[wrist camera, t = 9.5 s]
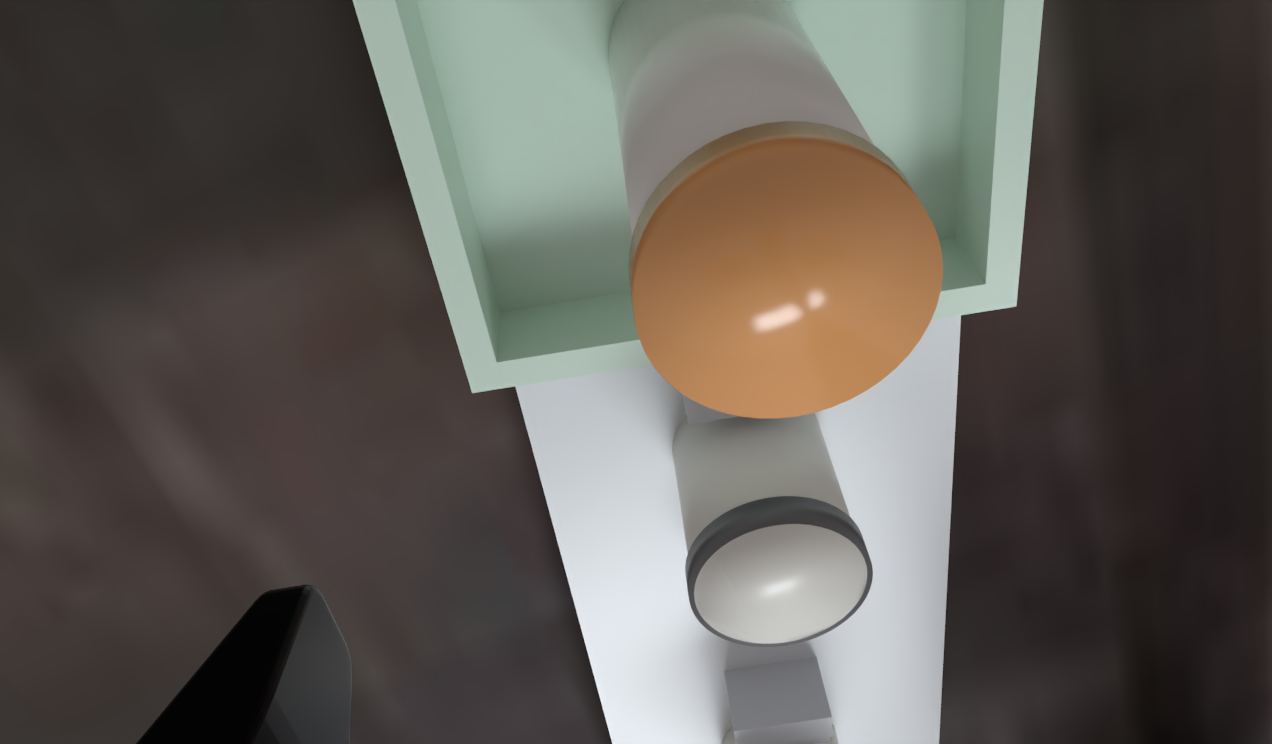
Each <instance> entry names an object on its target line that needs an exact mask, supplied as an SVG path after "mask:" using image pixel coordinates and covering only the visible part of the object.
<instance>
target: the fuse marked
mask: <svg viewBox="0 0 1272 744" xmlns="http://www.w3.org/2000/svg"><path fill="white" fill-rule="evenodd" d="M608 57H609V68H610V75H611V82H612V90H613V97H614V105H615V112H616V119H617V127H618V134H619V142H620V149H621V157H622V164H623V171H624V179H625V186H626V194H627V201H628V208H629V216H630V223H631V231H632V240H631V245H630V250H629V265H628V268H629V279H630V288H631V296H632V305H633V313H634V321H635V325H636V329H637V333H638V337H639V340H640V342H641V344H642V347H643V349H644V351H645V354H646V355H647V357H648V358H649V360H650V361H651V363H652V365H653V366H654V368H655V369H656V370H657V371H658V372H659V373H660V375H661V376H662V377H663V378H664V379H665V380H666V381H667V382H668V383H669V384H670V385H672V386H673V387H674V388H675V389H676V390H677V391H679V392H680V393H682V394H684V395H685V396H687V397H688V398H690V399H691V400H693V401H695V402H697V403H699V404H701V405H703V406H706V407H708V408H711V409H714V410H717V411H720V412H722V413H727V414H731V415H736V416H740V417H749V418H759V419H762V418H787V417H796V416H801V415H806V414H811V413H815V412H818V411H822V410H825V409H828V408H831V407H834V406H836V405H839V404H841V403H843V402H846V401H848V400H850V399H852V398H854V397H856V396H858V395H860V394H861V393H863V392H865V391H867V390H868V389H870V388H871V387H873V386H874V385H876V384H877V383H879V382H880V381H881V380H883V379H884V378H885V377H886V376H888V375H889V374H890V373H891V372H892V371H893V370H895V369H896V368H897V367H898V366H899V365H900V364H901V363H902V362H903V361H904V359H905V358H906V357H907V356H908V355H909V354H910V353H911V351H912V350H913V349H914V347H915V346H916V345H917V344H918V342H919V341H920V339H921V338H922V336H923V334H924V333H925V331H926V329H927V327H928V326H929V324H930V322H931V319H932V317H933V314H934V312H935V310H936V307H937V303H938V300H939V296H940V292H941V286H942V277H943V261H942V252H941V247H940V242H939V238H938V235H937V232H936V230H935V227H934V225H933V222H932V220H931V219H930V217H929V215H928V214H927V212H926V210H925V208H924V207H923V205H922V204H921V202H920V200H919V199H918V197H917V196H916V194H915V192H914V191H913V189H912V188H911V186H910V184H909V183H908V181H907V180H906V178H905V176H904V175H903V173H902V172H901V171H900V170H899V168H898V167H897V166H896V165H895V164H894V162H893V161H892V160H891V159H890V158H889V157H888V156H887V155H885V154H884V153H883V152H882V151H881V150H880V149H879V148H877V147H876V146H875V145H874V144H873V142H872V140H871V139H870V137H869V135H868V134H867V132H866V130H865V129H864V127H863V125H862V124H861V122H860V121H859V119H858V117H857V116H856V114H855V112H854V111H853V109H852V107H851V106H850V104H849V102H848V101H847V99H846V97H845V96H844V94H843V92H842V91H841V89H840V88H839V86H838V84H837V83H836V81H835V79H834V78H833V76H832V74H831V73H830V71H829V69H828V68H827V66H826V64H825V63H824V61H823V60H822V58H821V56H820V55H819V53H818V51H817V50H816V48H815V46H814V45H813V43H812V41H811V40H810V38H809V36H808V35H807V33H806V31H805V30H804V28H803V27H802V25H801V23H800V22H799V20H798V18H797V17H796V15H795V13H794V12H793V10H792V8H791V7H790V5H789V3H788V2H787V0H624V1H623V3H622V4H621V6H620V8H619V10H618V12H617V14H616V16H615V19H614V22H613V25H612V28H611V33H610V39H609V50H608Z"/></svg>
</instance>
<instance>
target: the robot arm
mask: <svg viewBox="0 0 1272 744" xmlns="http://www.w3.org/2000/svg"><path fill="white" fill-rule="evenodd" d="M351 684H352V668H351V659H350V654H349V650H348V647H347V645H346V642H345V640H344V638H343V636H342V634H341V632H340V630H339V628H338V626H337V624H336V622H335V620H334V618H333V616H332V614H331V612H330V609H329V607H328V605H327V603H326V601H325V599H324V597H323V595H322V594H321V592H320V591H319V590H318V589H317V588H316V587H314V586H312V585H301V586H294V587H288V588H282V589H275V590H270V591H268V592H265V593H264V594H262V595H261V596H260V597H259V598H258V599H257V600H256V601H255V602H254V603H253V604H252V606H251V607H250V608H249V609H248V610H247V612H246V613H245V614H244V615H243V616H242V618H241V619H240V620H239V621H238V622H237V624H236V625H235V626H234V627H233V628H232V629H231V631H230V632H229V633H228V634H227V635H226V637H225V638H224V639H223V640H222V641H221V643H220V644H219V645H218V646H217V647H216V649H215V650H214V651H213V652H212V653H211V655H210V656H209V657H208V658H207V659H206V661H205V662H204V663H203V664H202V665H201V667H200V668H199V669H198V670H197V671H196V673H195V674H194V675H193V676H192V677H191V679H190V680H189V681H188V682H187V683H186V685H185V686H184V687H183V688H182V689H181V690H180V692H179V693H178V694H177V695H176V696H175V698H174V699H173V700H172V701H171V702H170V704H169V705H168V706H167V707H166V708H165V710H164V711H163V712H162V713H161V714H160V716H159V717H158V718H157V719H156V720H155V722H154V723H153V724H152V725H151V726H150V728H149V729H148V730H147V731H146V732H145V734H144V735H143V736H142V737H141V738H140V740H139V741H138V742H137V743H136V744H349V739H350V712H351Z"/></svg>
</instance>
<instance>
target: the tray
mask: <svg viewBox="0 0 1272 744" xmlns="http://www.w3.org/2000/svg"><path fill="white" fill-rule="evenodd" d="M623 1H624V0H353V3H354V7H355V10H356V13H357V16H358V20H359V23H360V26H361V30H362V33H363V36H364V39H365V43H366V46H367V49H368V53H369V56H370V59H371V62H372V66H373V69H374V72H375V76H376V79H377V82H378V85H379V89H380V92H381V95H382V98H383V102H384V105H385V108H386V112H387V115H388V118H389V121H390V125H391V128H392V131H393V135H394V138H395V141H396V144H397V148H398V151H399V154H400V158H401V161H402V164H403V167H404V171H405V174H406V177H407V181H408V184H409V187H410V190H411V194H412V197H413V200H414V204H415V207H416V210H417V213H418V217H419V220H420V223H421V227H422V230H423V233H424V236H425V240H426V243H427V246H428V250H429V253H430V256H431V259H432V263H433V266H434V269H435V272H436V276H437V279H438V282H439V286H440V289H441V292H442V295H443V299H444V302H445V305H446V309H447V312H448V315H449V318H450V322H451V325H452V328H453V332H454V335H455V338H456V341H457V345H458V348H459V351H460V355H461V358H462V361H463V364H464V368H465V371H466V374H467V378H468V381H469V384H470V387H471V391H472V393H476V392H482V391H489V390H495V389H501V388H507V387H514V386H520V385H526V384H533V383H539V382H545V381H551V380H558V379H564V378H570V377H577V376H583V375H589V374H595V373H602V372H608V371H614V370H620V369H627V368H633V367H639V366H646V365H652V363H651V361H650V360H649V358H648V357H647V355H646V354H645V351H644V349H643V347H642V344H641V342H640V340H639V337H638V333H637V329H636V325H635V321H634V313H633V305H632V296H631V288H630V279H629V268H628V265H629V250H630V245H631V240H632V231H631V223H630V216H629V208H628V201H627V194H626V186H625V179H624V171H623V164H622V157H621V149H620V142H619V134H618V127H617V119H616V112H615V105H614V97H613V90H612V82H611V75H610V68H609V57H608V50H609V39H610V33H611V28H612V25H613V22H614V19H615V16H616V14H617V12H618V10H619V8H620V6H621V4H622V3H623ZM787 2H788V3H789V5H790V7H791V8H792V10H793V12H794V13H795V15H796V17H797V18H798V20H799V22H800V23H801V25H802V27H803V28H804V30H805V31H806V33H807V35H808V36H809V38H810V40H811V41H812V43H813V45H814V46H815V48H816V50H817V51H818V53H819V55H820V56H821V58H822V60H823V61H824V63H825V64H826V66H827V68H828V69H829V71H830V73H831V74H832V76H833V78H834V79H835V81H836V83H837V84H838V86H839V88H840V89H841V91H842V92H843V94H844V96H845V97H846V99H847V101H848V102H849V104H850V106H851V107H852V109H853V111H854V112H855V114H856V116H857V117H858V119H859V121H860V122H861V124H862V125H863V127H864V129H865V130H866V132H867V134H868V135H869V137H870V139H871V140H872V142H873V144H874V145H875V146H876V147H877V148H879V149H880V150H881V151H882V152H883V153H884V154H885V155H887V156H888V157H889V158H890V159H891V160H892V161H893V162H894V164H895V165H896V166H897V167H898V168H899V170H900V171H901V172H902V173H903V175H904V176H905V178H906V180H907V181H908V183H909V184H910V186H911V188H912V189H913V191H914V192H915V194H916V196H917V197H918V199H919V200H920V202H921V204H922V205H923V207H924V208H925V210H926V212H927V214H928V215H929V217H930V219H931V220H932V222H933V225H934V227H935V230H936V232H937V235H938V238H939V242H940V247H941V252H942V261H943V277H942V286H941V292H940V296H939V300H938V303H937V307H936V310H935V312H934V314H933V317H932V319H931V320H934V319H941V318H947V317H953V316H960V315H966V314H972V313H978V312H985V311H991V310H997V309H1003V308H1010V307H1016V305H1017V294H1018V282H1019V271H1020V260H1021V249H1022V237H1023V226H1024V215H1025V204H1026V193H1027V181H1028V170H1029V159H1030V148H1031V137H1032V125H1033V114H1034V103H1035V92H1036V80H1037V69H1038V58H1039V47H1040V36H1041V24H1042V13H1043V2H1044V0H787Z"/></svg>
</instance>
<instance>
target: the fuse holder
mask: <svg viewBox="0 0 1272 744" xmlns="http://www.w3.org/2000/svg"><path fill="white" fill-rule="evenodd" d="M960 324H961V315H960V316H953V317H947V318H941V319H934V320H931V322H930V324H929V326H928V327H927V329H926V331H925V333H924V334H923V336H922V338H921V339H920V341H919V342H918V344H917V345H916V346H915V347H914V349H913V350H912V351H911V353H910V354H909V355H908V356H907V357H906V358H905V359H904V361H903V362H902V363H901V364H900V365H899V366H898V367H897V368H896V369H895V370H893V371H892V372H891V373H890V374H889V375H888V376H886V377H885V378H884V379H883V380H881V381H880V382H879V383H877V384H876V385H874V386H873V387H871V388H870V389H868V390H867V391H865V392H863V393H861V394H860V395H858V396H856V397H854V398H852V399H850V400H848V401H846V402H843V403H841V404H839V405H836V406H834V407H831V408H828V409H825V410H822V411H818V412H815V413H811V414H806V415H801V416H796V417H787V418H762V419H759V418H749V417H740V416H736V415H731V414H727V413H722V412H720V411H717V410H714V409H711V408H708V407H706V406H703V405H701V404H699V403H697V402H695V401H693V400H691V399H690V398H688V397H687V396H685V395H684V394H682V393H680V392H679V391H677V390H676V389H675V388H674V387H673V386H672V385H670V384H669V383H668V382H667V381H666V380H665V379H664V378H663V377H662V376H661V375H660V373H659V372H658V371H657V370H656V369H655V368H654V366H653V365H646V366H639V367H633V368H627V369H620V370H614V371H608V372H602V373H595V374H589V375H583V376H577V377H570V378H564V379H558V380H551V381H545V382H539V383H533V384H526V385H520V386H515V387H516V391H517V394H518V398H519V402H520V405H521V409H522V413H523V416H524V420H525V424H526V428H527V431H528V435H529V439H530V442H531V446H532V450H533V453H534V457H535V461H536V464H537V468H538V472H539V475H540V479H541V483H542V486H543V490H544V494H545V497H546V501H547V505H548V509H549V512H550V516H551V520H552V523H553V527H554V531H555V534H556V538H557V542H558V545H559V549H560V553H561V556H562V560H563V564H564V567H565V571H566V575H567V578H568V582H569V586H570V590H571V593H572V597H573V601H574V604H575V608H576V612H577V615H578V619H579V623H580V626H581V630H582V634H583V637H584V641H585V645H586V648H587V652H588V656H589V659H590V663H591V667H592V670H593V674H594V678H595V682H596V685H597V689H598V693H599V696H600V700H601V704H602V707H603V711H604V715H605V718H606V722H607V726H608V729H609V733H610V737H611V740H612V744H939V734H940V714H941V695H942V675H943V656H944V636H945V617H946V597H947V578H948V558H949V538H950V519H951V499H952V480H953V460H954V441H955V421H956V402H957V382H958V363H959V343H960Z"/></svg>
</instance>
